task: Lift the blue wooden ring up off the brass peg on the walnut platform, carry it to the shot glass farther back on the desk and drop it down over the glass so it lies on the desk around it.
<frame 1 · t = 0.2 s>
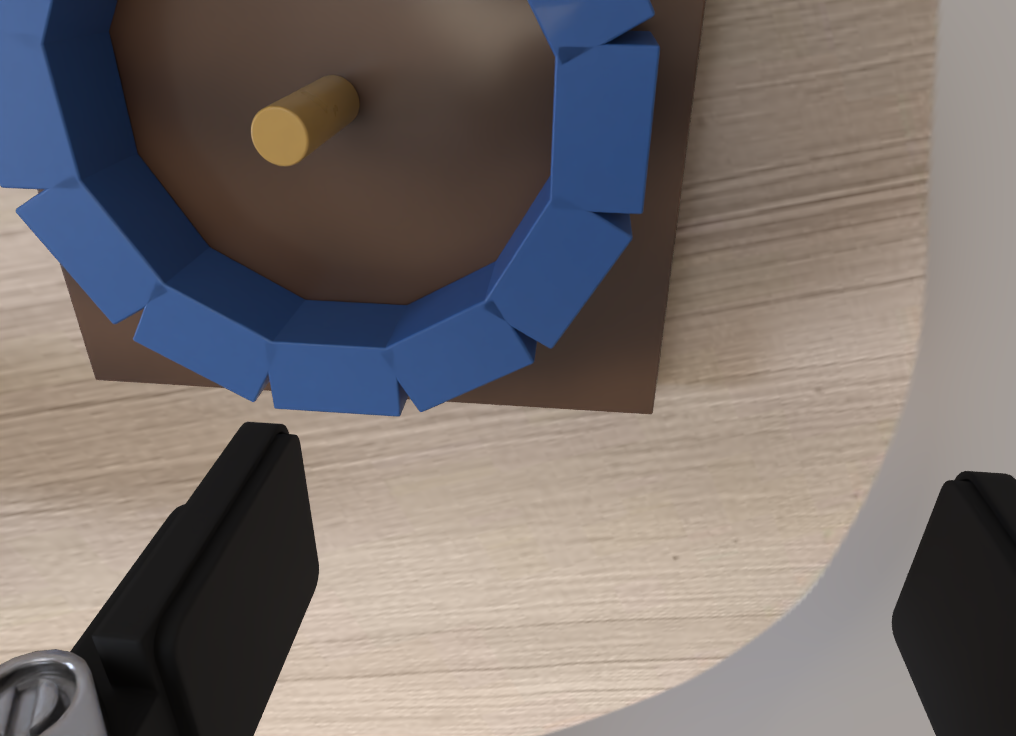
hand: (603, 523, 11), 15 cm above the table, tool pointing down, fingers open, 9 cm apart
ring: (319, 111, 20), point 3 cm above the table, touching platform
platform: (355, 88, 23), on the table
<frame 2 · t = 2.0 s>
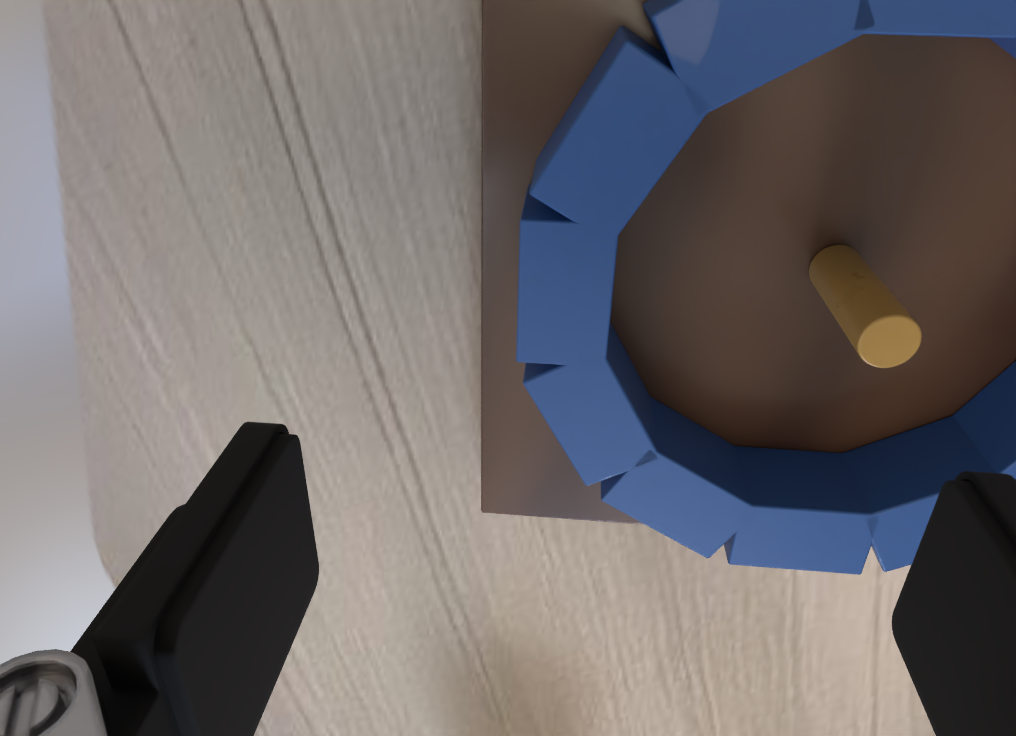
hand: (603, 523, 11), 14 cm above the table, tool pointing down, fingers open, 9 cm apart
ring: (850, 289, 20), point 3 cm above the table, touching platform
platform: (815, 242, 23), on the table
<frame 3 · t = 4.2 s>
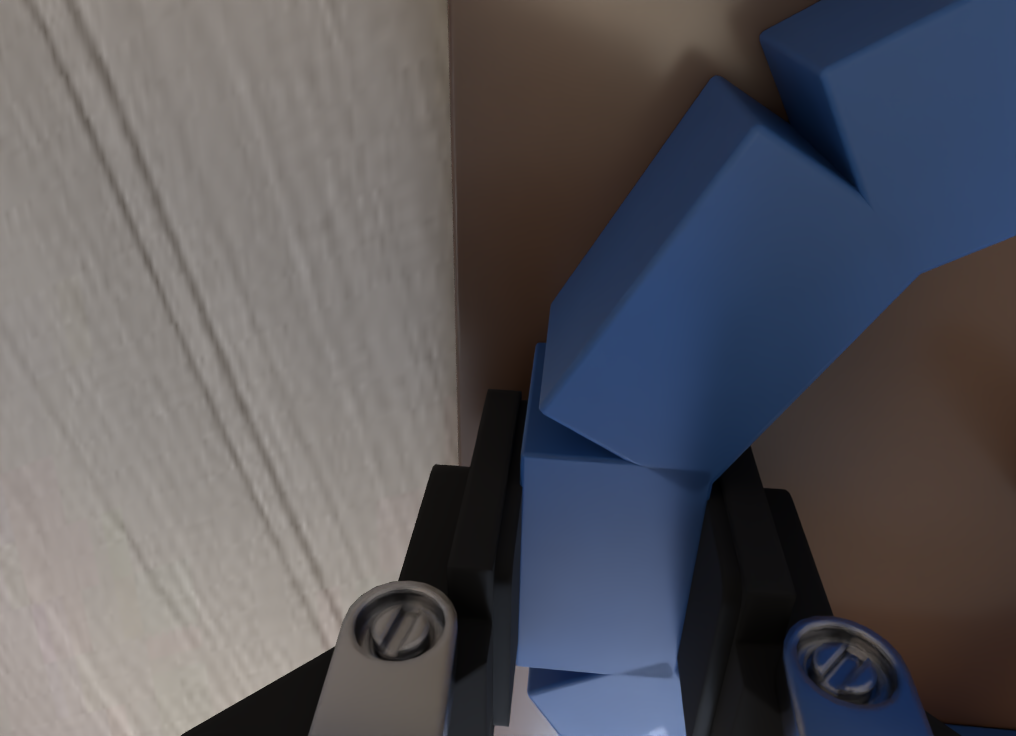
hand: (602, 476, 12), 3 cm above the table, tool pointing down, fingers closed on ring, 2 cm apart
platform: (1006, 412, 14), on the table
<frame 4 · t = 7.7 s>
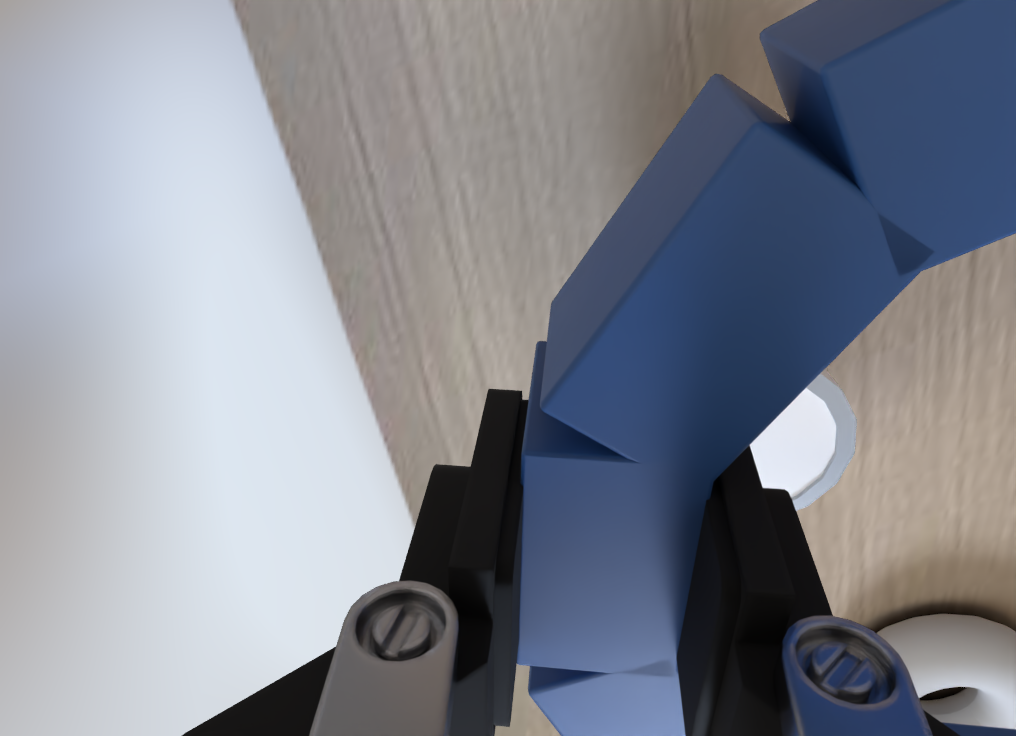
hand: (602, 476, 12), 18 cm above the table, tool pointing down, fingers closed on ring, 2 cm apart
donut: (927, 662, 40), on the table
shot glass: (719, 345, 31), on the table
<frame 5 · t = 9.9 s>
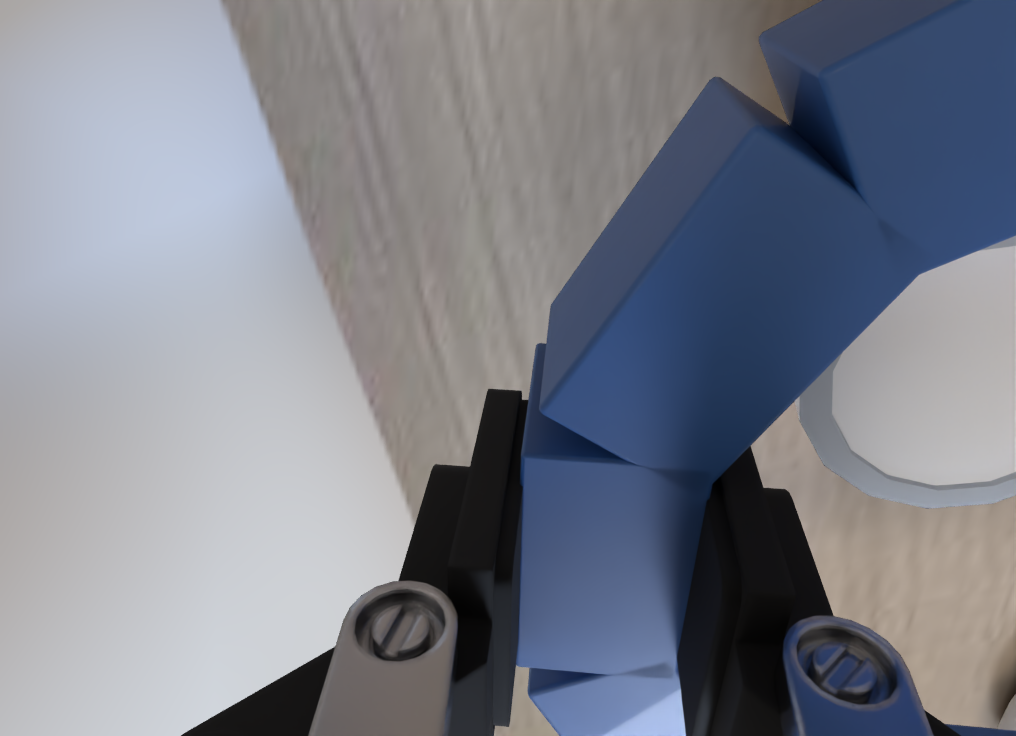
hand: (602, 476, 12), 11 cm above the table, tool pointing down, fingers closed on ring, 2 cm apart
shot glass: (864, 246, 21), on the table
when the fingers open (6 cm above the table, at t = 11.6 s): ring drops 5 cm, point 1 cm above the table.
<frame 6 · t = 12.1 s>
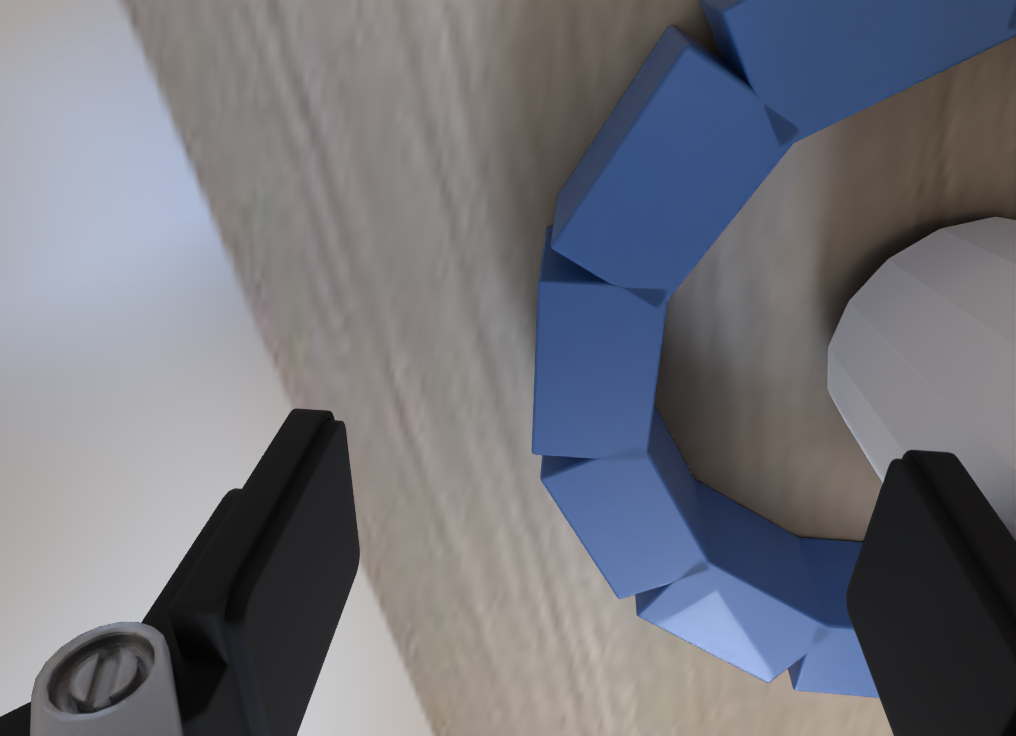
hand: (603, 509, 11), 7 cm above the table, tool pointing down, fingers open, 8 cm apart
shot glass: (948, 337, 16), resting in ring
ring: (962, 362, 15), point 1 cm above the table
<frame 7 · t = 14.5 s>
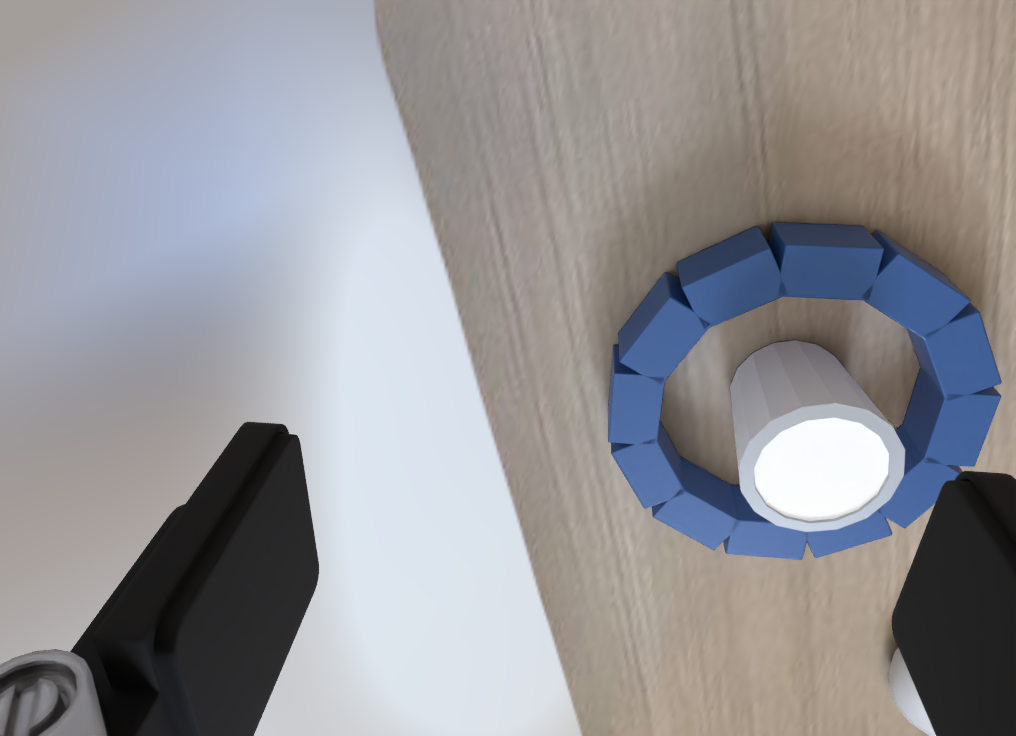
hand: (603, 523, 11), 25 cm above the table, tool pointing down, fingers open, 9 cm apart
donut: (966, 653, 46), on the table
shot glass: (785, 387, 38), resting in ring
ring: (788, 403, 37), point 1 cm above the table
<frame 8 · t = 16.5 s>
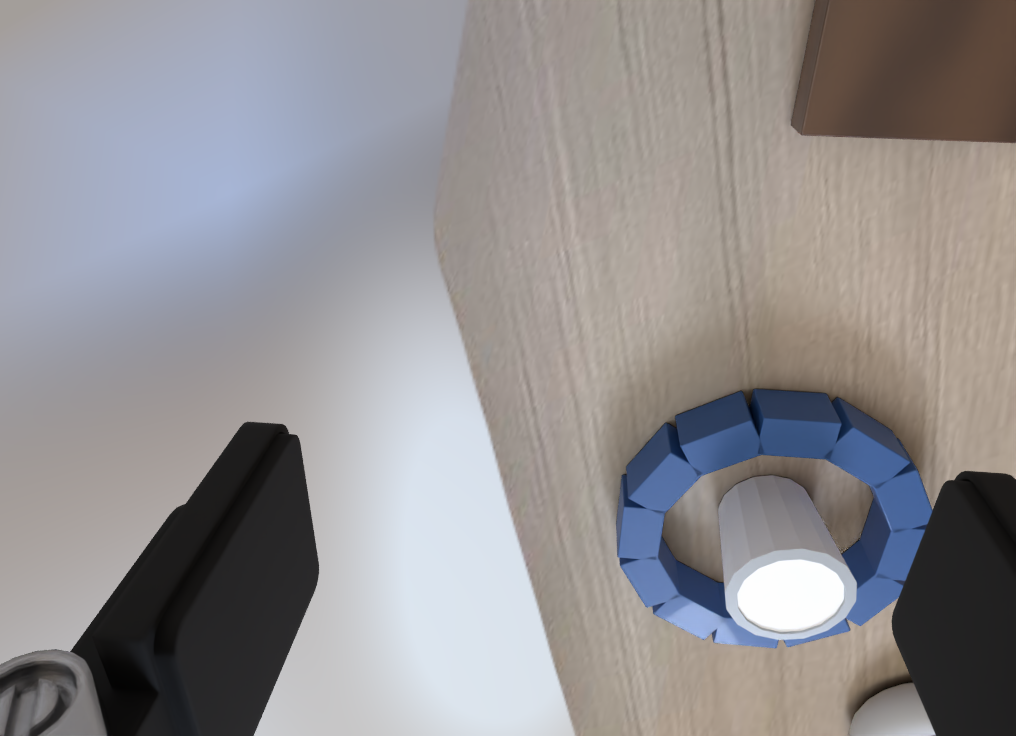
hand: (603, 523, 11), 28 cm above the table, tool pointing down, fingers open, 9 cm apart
donut: (914, 714, 54), on the table
shot glass: (763, 509, 46), resting in ring
ring: (765, 527, 45), point 1 cm above the table
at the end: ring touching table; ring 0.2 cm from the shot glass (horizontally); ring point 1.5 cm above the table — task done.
